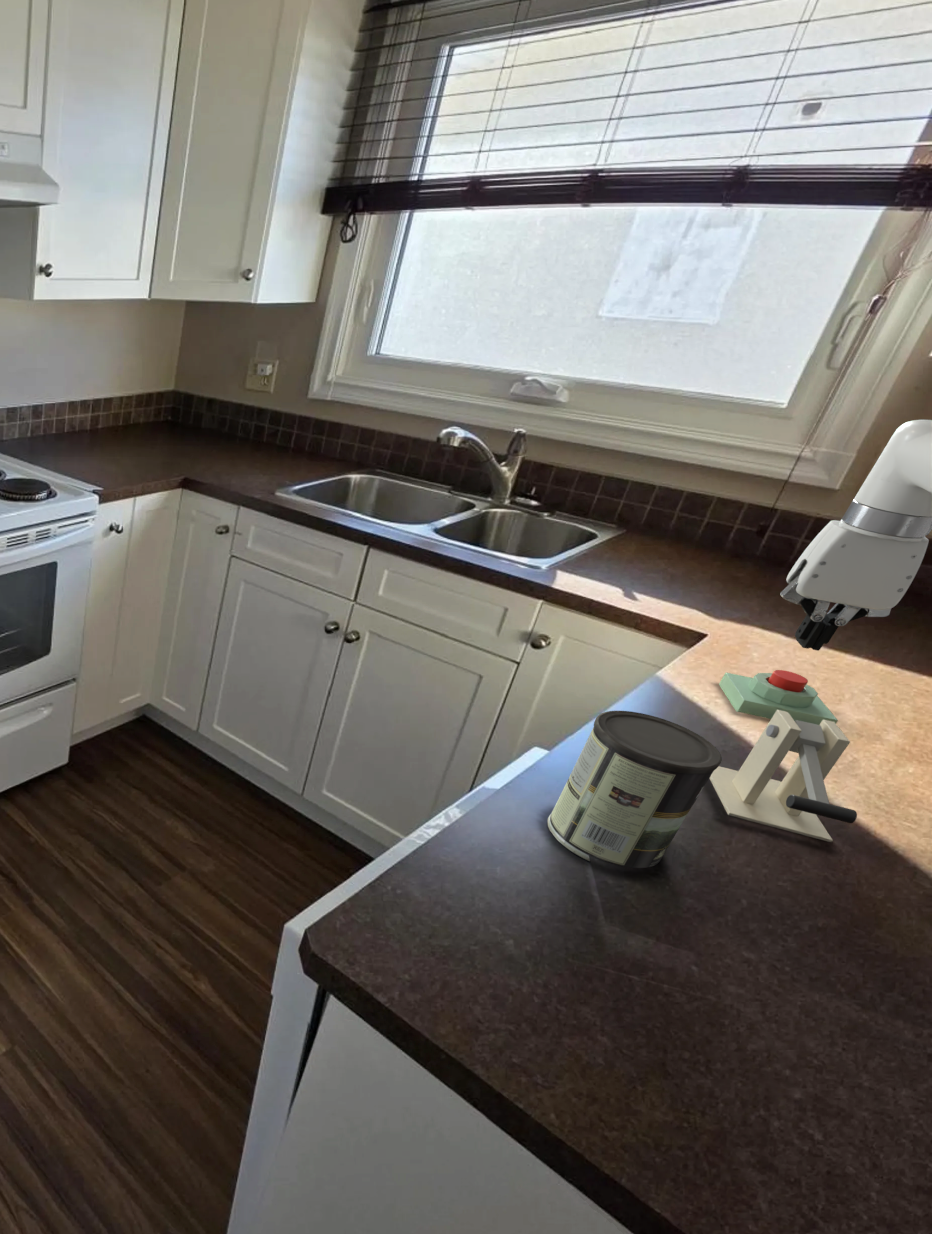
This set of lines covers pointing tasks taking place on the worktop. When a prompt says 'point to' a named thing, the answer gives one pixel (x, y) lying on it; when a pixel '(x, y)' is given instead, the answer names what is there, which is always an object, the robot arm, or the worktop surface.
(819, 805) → the lever
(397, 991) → the worktop surface
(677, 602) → the worktop surface
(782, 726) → the bracket
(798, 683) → the button
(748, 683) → the button box
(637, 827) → the coffee can
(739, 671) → the worktop surface
